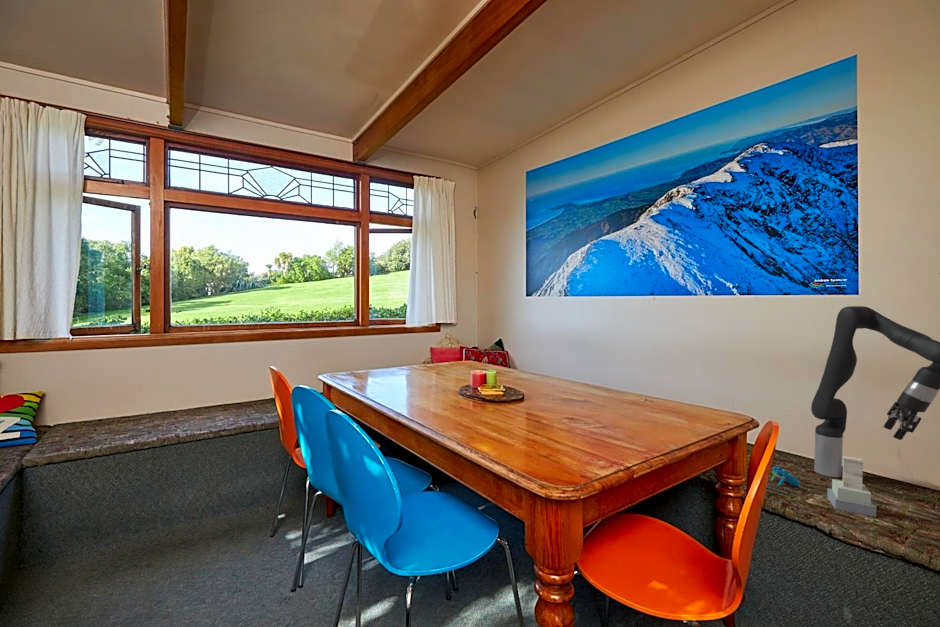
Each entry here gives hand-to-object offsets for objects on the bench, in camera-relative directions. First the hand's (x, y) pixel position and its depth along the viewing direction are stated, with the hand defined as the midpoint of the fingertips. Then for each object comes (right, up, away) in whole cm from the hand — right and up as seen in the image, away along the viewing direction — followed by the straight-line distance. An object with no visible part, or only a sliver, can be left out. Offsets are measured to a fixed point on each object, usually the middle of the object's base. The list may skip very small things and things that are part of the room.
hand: (891, 433), depth 153 cm
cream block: (-14, -20, 0) cm, 24 cm away
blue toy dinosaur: (-25, -27, +19) cm, 41 cm away
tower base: (-15, -28, +1) cm, 31 cm away
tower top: (-15, -24, +1) cm, 28 cm away
